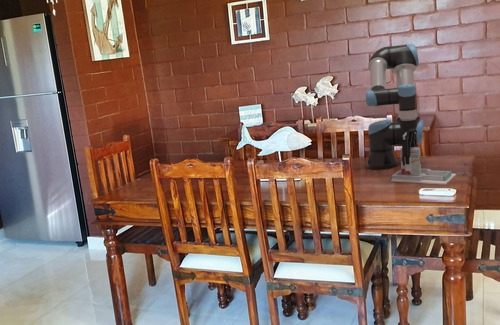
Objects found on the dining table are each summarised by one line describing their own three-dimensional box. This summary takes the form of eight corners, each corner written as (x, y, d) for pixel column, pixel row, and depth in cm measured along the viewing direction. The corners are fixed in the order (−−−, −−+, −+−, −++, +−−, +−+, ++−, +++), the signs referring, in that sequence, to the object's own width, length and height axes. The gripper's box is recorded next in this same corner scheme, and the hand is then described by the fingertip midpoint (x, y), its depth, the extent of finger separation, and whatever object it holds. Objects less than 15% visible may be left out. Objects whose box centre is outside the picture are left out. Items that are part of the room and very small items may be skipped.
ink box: (401, 175, 232) (399, 149, 230) (402, 172, 236) (400, 147, 234) (420, 174, 229) (419, 149, 226) (421, 171, 233) (420, 146, 231)
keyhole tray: (404, 172, 243) (403, 167, 242) (456, 175, 228) (455, 169, 228) (391, 181, 231) (391, 176, 230) (445, 184, 216) (445, 178, 216)
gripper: (407, 115, 237) (410, 163, 242) (392, 123, 222) (395, 173, 227) (423, 115, 232) (426, 164, 237) (409, 122, 218) (412, 174, 223)
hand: (411, 168), depth 232 cm, fingers closed on ink box, 6 cm apart
